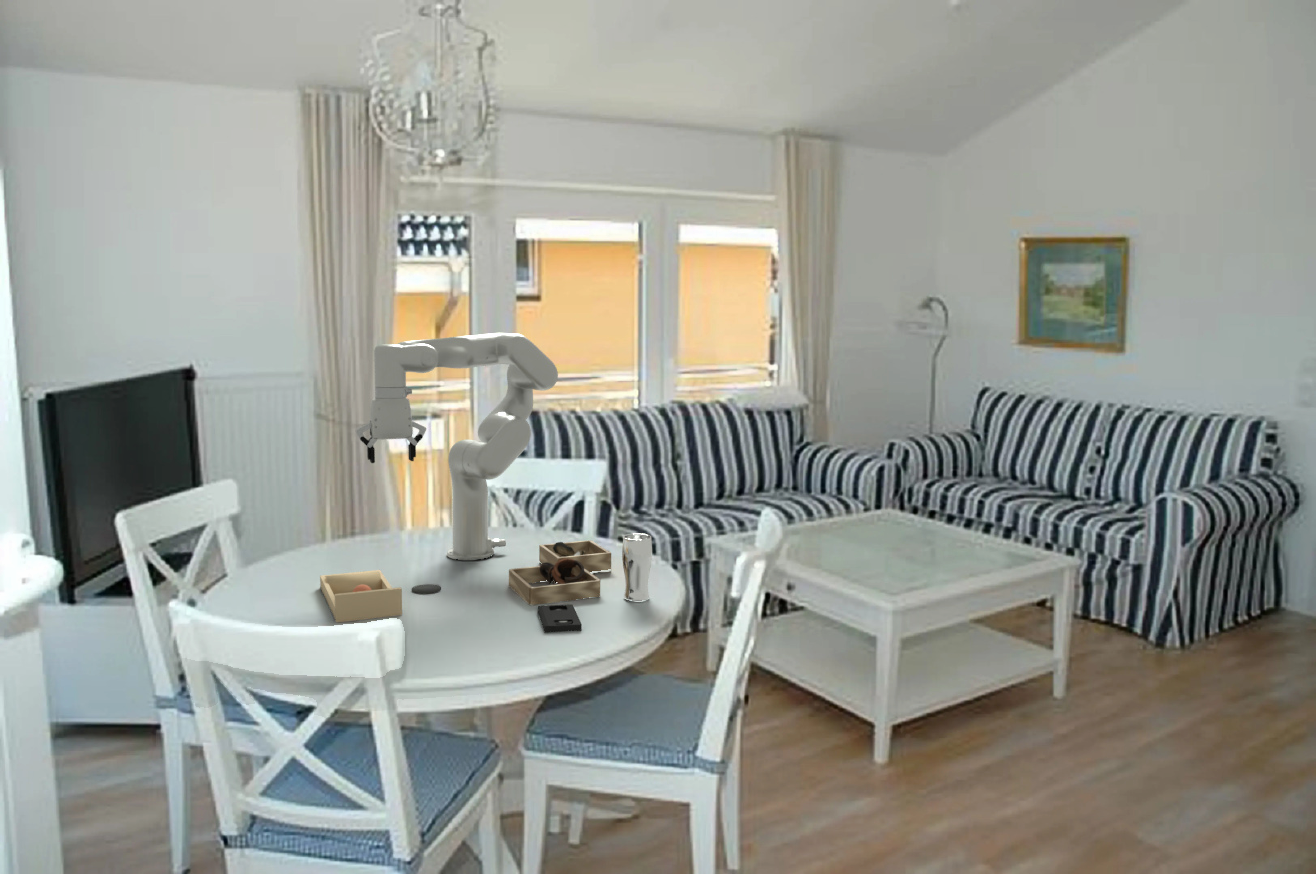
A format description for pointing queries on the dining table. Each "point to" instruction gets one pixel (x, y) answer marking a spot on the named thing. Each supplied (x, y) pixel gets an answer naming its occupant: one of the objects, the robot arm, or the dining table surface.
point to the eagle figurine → (565, 550)
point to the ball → (361, 588)
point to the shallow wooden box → (551, 586)
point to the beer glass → (636, 565)
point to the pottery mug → (562, 571)
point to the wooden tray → (591, 560)
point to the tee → (426, 589)
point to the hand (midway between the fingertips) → (391, 461)
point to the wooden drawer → (360, 596)
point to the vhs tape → (559, 618)
